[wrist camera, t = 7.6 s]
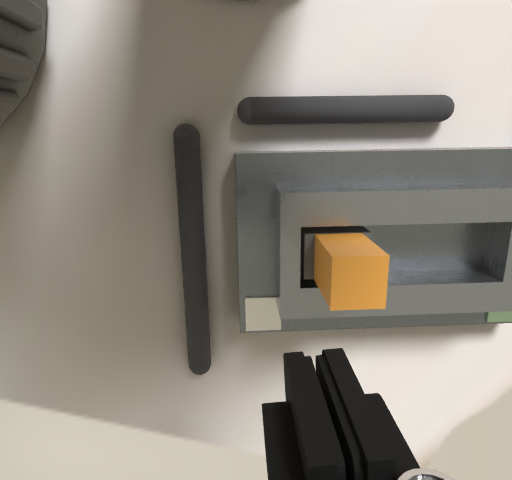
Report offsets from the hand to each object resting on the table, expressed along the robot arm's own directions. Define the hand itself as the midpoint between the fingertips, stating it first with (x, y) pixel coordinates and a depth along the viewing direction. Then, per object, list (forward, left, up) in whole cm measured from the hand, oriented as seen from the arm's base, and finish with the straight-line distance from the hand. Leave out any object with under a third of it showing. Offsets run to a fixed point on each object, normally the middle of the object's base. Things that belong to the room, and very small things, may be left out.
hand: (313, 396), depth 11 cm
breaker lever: (0, +4, -15) cm, 15 cm away
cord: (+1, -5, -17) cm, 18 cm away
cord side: (-8, +5, -17) cm, 20 cm away
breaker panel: (0, +8, -17) cm, 19 cm away
